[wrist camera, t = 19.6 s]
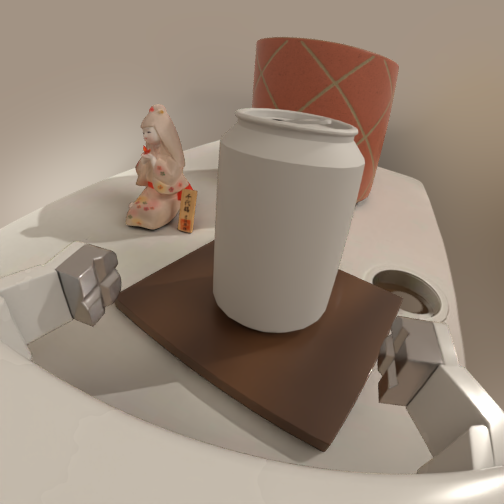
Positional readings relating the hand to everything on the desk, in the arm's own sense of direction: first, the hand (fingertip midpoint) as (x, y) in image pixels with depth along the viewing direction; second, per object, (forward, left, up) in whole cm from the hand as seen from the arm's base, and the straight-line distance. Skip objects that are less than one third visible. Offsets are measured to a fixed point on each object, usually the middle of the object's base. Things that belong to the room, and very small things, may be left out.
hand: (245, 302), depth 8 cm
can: (+4, -9, -8) cm, 13 cm away
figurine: (+20, -13, -9) cm, 25 cm away
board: (+4, -9, -9) cm, 13 cm away
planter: (+14, -35, -9) cm, 39 cm away
